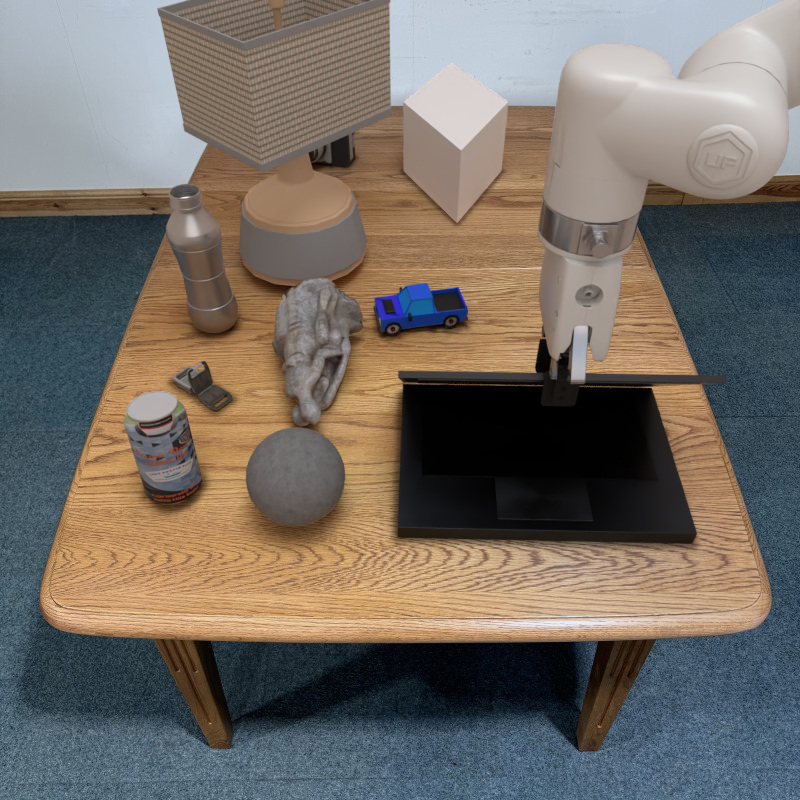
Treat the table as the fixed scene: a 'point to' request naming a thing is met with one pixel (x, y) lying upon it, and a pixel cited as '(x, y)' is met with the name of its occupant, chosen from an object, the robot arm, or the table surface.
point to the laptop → (538, 466)
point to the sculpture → (314, 344)
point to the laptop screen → (538, 378)
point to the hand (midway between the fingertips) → (554, 386)
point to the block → (454, 139)
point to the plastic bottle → (200, 260)
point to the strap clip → (201, 385)
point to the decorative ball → (295, 476)
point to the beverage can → (163, 447)
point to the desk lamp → (284, 115)
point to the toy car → (419, 308)
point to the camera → (335, 152)
